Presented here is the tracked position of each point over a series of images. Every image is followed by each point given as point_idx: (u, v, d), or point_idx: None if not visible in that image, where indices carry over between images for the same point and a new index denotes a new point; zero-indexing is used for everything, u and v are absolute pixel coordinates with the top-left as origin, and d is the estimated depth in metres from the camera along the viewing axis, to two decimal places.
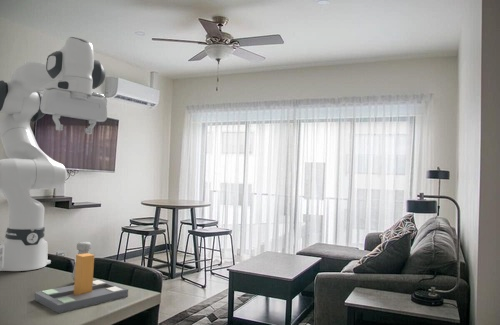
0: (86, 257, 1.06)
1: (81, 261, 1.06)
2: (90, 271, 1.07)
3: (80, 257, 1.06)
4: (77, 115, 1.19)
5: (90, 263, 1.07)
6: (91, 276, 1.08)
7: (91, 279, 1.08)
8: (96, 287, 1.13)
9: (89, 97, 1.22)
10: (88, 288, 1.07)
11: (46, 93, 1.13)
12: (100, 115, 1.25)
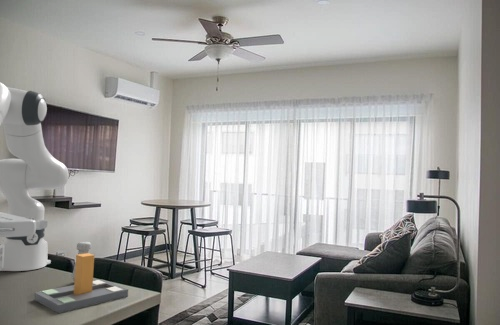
0: (86, 257, 1.06)
1: (81, 261, 1.06)
2: (90, 271, 1.07)
3: (80, 257, 1.06)
4: None
5: (90, 263, 1.07)
6: (91, 276, 1.08)
7: (91, 279, 1.08)
8: (96, 287, 1.13)
9: None
10: (88, 288, 1.07)
11: None
12: None
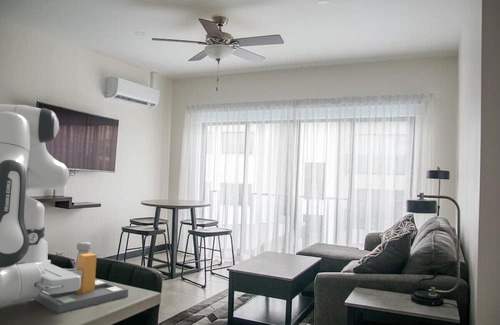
0: (88, 257, 1.07)
1: (83, 261, 1.06)
2: (92, 271, 1.08)
3: (82, 257, 1.07)
4: None
5: (92, 263, 1.08)
6: (93, 276, 1.08)
7: (93, 279, 1.08)
8: (96, 287, 1.13)
9: None
10: (90, 288, 1.07)
11: None
12: None
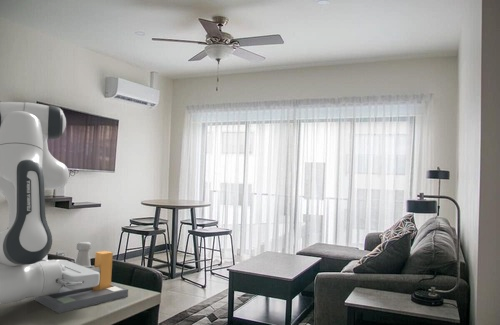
0: (105, 254, 1.11)
1: (100, 258, 1.10)
2: (109, 268, 1.12)
3: (99, 254, 1.11)
4: None
5: (109, 260, 1.12)
6: (110, 273, 1.12)
7: (110, 275, 1.12)
8: None
9: (62, 285, 1.00)
10: (107, 284, 1.11)
11: None
12: None
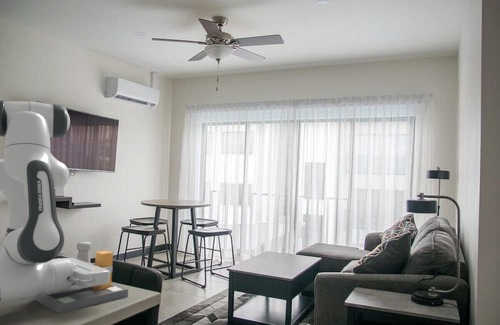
0: (105, 254, 1.11)
1: (100, 258, 1.10)
2: None
3: (100, 254, 1.11)
4: None
5: (109, 260, 1.12)
6: (110, 273, 1.12)
7: (110, 275, 1.12)
8: None
9: (73, 283, 1.02)
10: (107, 284, 1.11)
11: None
12: None
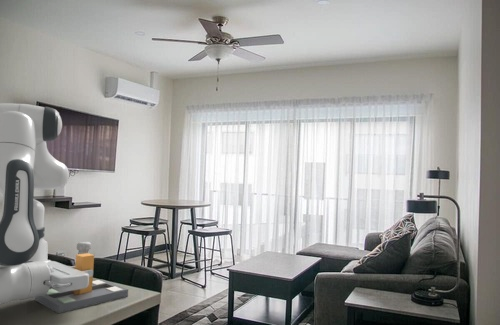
0: (86, 257, 1.06)
1: (80, 261, 1.06)
2: None
3: (80, 257, 1.06)
4: None
5: (90, 263, 1.07)
6: (91, 276, 1.07)
7: (91, 279, 1.07)
8: (96, 287, 1.13)
9: (50, 287, 0.97)
10: (88, 288, 1.07)
11: None
12: None
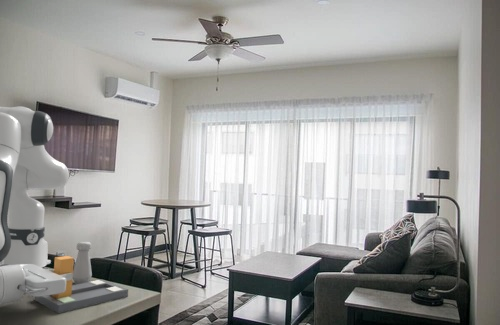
0: (65, 260, 1.02)
1: (59, 265, 1.01)
2: None
3: (58, 260, 1.01)
4: None
5: (69, 266, 1.03)
6: (70, 280, 1.03)
7: (70, 283, 1.03)
8: (96, 287, 1.13)
9: None
10: (67, 292, 1.02)
11: None
12: None
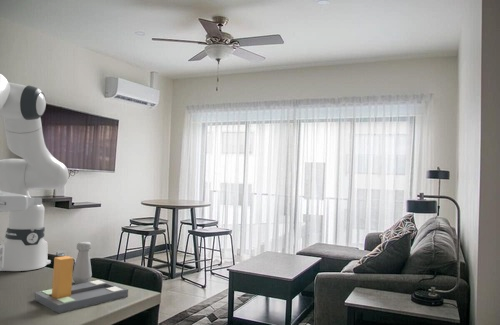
0: (64, 260, 1.02)
1: (59, 265, 1.01)
2: (69, 275, 1.03)
3: (58, 260, 1.01)
4: None
5: (69, 266, 1.03)
6: (70, 280, 1.03)
7: (70, 283, 1.03)
8: (96, 287, 1.13)
9: None
10: (67, 292, 1.02)
11: None
12: None
